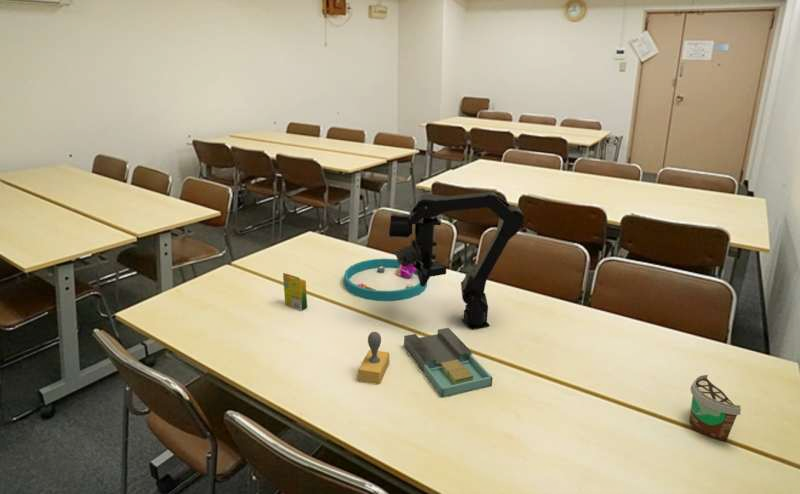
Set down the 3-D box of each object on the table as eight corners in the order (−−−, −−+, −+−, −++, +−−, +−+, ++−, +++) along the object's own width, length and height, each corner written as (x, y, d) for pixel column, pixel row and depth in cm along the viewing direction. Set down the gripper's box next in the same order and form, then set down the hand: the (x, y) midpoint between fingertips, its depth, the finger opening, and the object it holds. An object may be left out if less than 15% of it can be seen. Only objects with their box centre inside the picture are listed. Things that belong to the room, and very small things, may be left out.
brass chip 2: (465, 373, 137) (465, 367, 137) (472, 382, 134) (473, 375, 133) (448, 377, 136) (448, 371, 135) (455, 386, 132) (455, 379, 131)
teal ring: (444, 284, 192) (444, 269, 190) (385, 311, 171) (385, 294, 169) (386, 261, 211) (386, 248, 209) (327, 283, 191) (326, 268, 189)
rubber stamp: (380, 385, 133) (380, 343, 129) (358, 381, 134) (357, 340, 130) (389, 363, 142) (390, 324, 138) (369, 360, 144) (368, 321, 139)
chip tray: (470, 363, 143) (471, 355, 142) (491, 385, 134) (492, 377, 133) (423, 373, 138) (424, 365, 137) (442, 397, 129) (442, 389, 128)
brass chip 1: (457, 365, 141) (457, 359, 140) (464, 374, 137) (464, 367, 137) (440, 369, 139) (440, 363, 138) (447, 377, 136) (447, 371, 135)
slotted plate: (447, 338, 155) (448, 327, 154) (470, 363, 143) (471, 351, 142) (403, 346, 150) (404, 335, 149) (423, 373, 138) (424, 361, 137)
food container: (672, 409, 126) (680, 374, 122) (696, 408, 126) (706, 373, 123) (704, 446, 114) (714, 408, 111) (731, 444, 115) (742, 406, 111)
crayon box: (307, 307, 172) (306, 275, 168) (301, 311, 169) (299, 278, 165) (291, 302, 175) (289, 269, 171) (284, 305, 173) (282, 272, 169)
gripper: (387, 231, 160) (386, 278, 165) (412, 252, 144) (411, 303, 149) (420, 227, 164) (418, 273, 169) (448, 247, 148) (445, 297, 153)
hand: (422, 286), depth 160 cm, fingers closed
